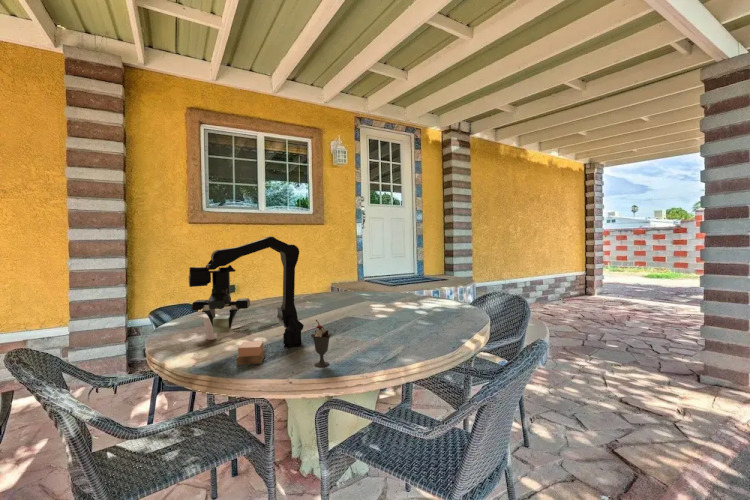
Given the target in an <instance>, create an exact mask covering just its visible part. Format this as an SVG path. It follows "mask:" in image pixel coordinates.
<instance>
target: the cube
mask: <svg viewBox="0 0 750 500" xmlns="http://www.w3.org/2000/svg"><path fill="white" fill-rule="evenodd" d="M229 318H230V314H229V315H219V316H216V317H215V318H213V333H217V334H224V333H225V334H226V333H230V331H231V330H232V327H231V328H229Z"/></svg>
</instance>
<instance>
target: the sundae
mask: <svg viewBox="0 0 750 500" xmlns="http://www.w3.org/2000/svg"><path fill="white" fill-rule="evenodd" d="M315 321H316V322H317V326H316V329H315V330H314V332H313V334H311V335H310V336H311V338H312V339H313V343H314V348H315V349H314V350H315V352H316V353H317V354H318V355H319V361H317V362H315V363H314V367H316V368H326V367H329V365H330V362H328V361H325V360H324V355H325V354H326V353H327V352H328V349H329V343H330V337H331V336H332V333H329V330H328V329H327V328H326V327H325V326H322V325H321V324H320V322H319V321H318V319H315Z"/></svg>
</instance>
